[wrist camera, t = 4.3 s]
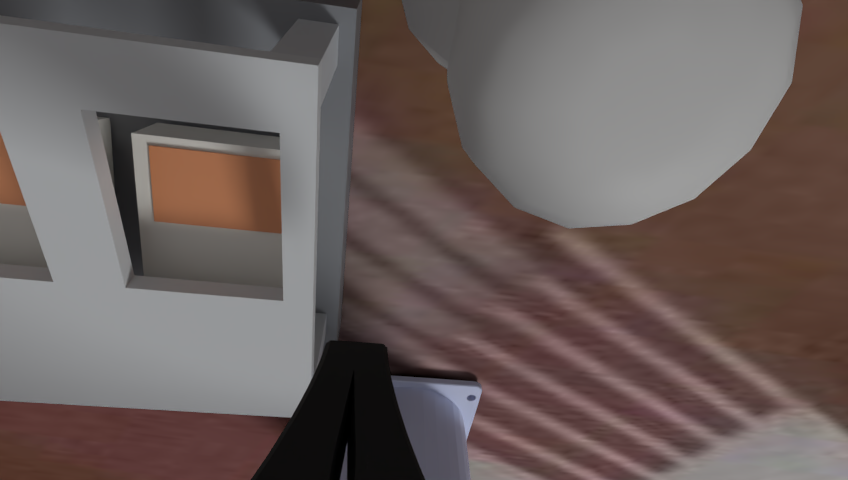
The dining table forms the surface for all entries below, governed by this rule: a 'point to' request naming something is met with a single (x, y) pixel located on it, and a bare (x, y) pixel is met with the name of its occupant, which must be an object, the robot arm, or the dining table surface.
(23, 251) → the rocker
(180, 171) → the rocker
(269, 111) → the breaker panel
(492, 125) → the salt shaker
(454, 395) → the robot arm
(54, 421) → the dining table surface
